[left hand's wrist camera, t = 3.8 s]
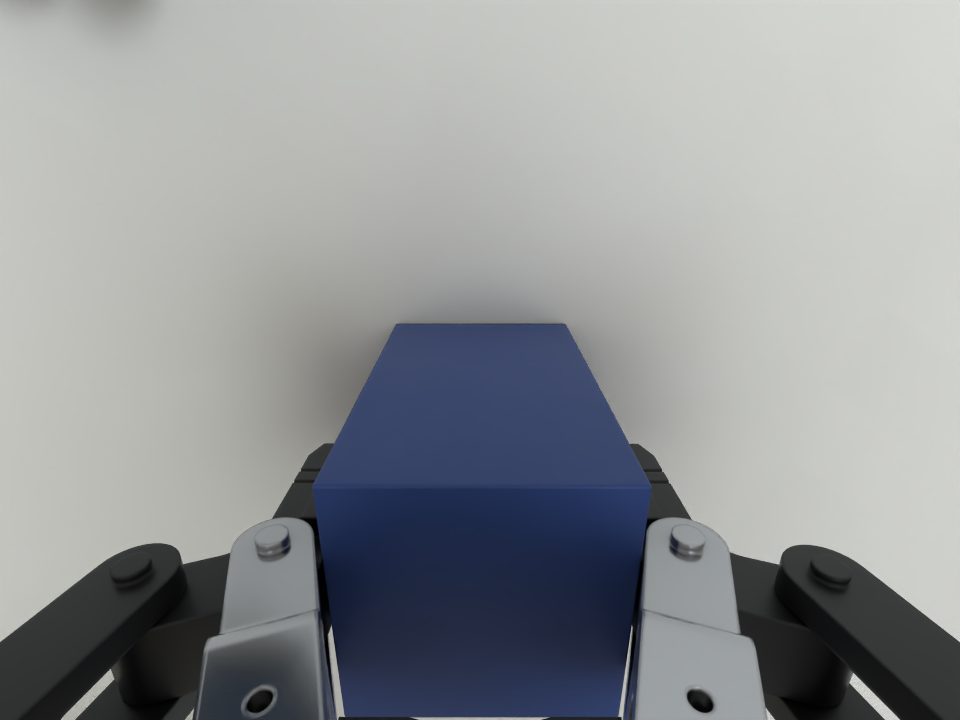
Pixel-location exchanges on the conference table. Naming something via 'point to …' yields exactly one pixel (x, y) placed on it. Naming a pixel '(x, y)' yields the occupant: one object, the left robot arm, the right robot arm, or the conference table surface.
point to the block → (481, 529)
